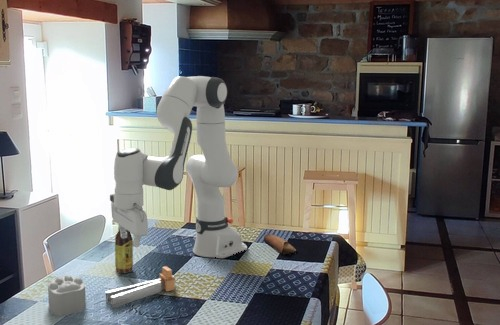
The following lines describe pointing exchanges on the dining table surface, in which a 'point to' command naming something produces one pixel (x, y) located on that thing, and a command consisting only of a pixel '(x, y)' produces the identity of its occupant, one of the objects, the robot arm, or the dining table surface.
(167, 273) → the collar
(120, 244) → the sauce bottle
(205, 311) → the dining table surface
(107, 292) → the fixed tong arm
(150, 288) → the bar
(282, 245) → the brown tapered cylinder
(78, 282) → the lumpy-topped squat cylinder
